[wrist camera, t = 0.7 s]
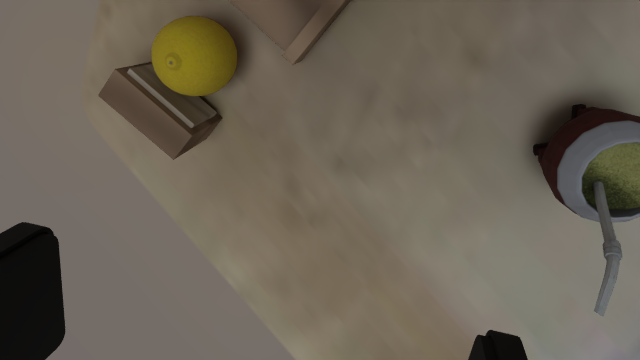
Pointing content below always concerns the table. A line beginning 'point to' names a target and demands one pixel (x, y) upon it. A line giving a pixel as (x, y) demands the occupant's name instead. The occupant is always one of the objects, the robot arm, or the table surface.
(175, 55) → the lemon
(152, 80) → the open brown box
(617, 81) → the table surface
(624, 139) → the mate gourd
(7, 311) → the robot arm
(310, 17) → the press bed
